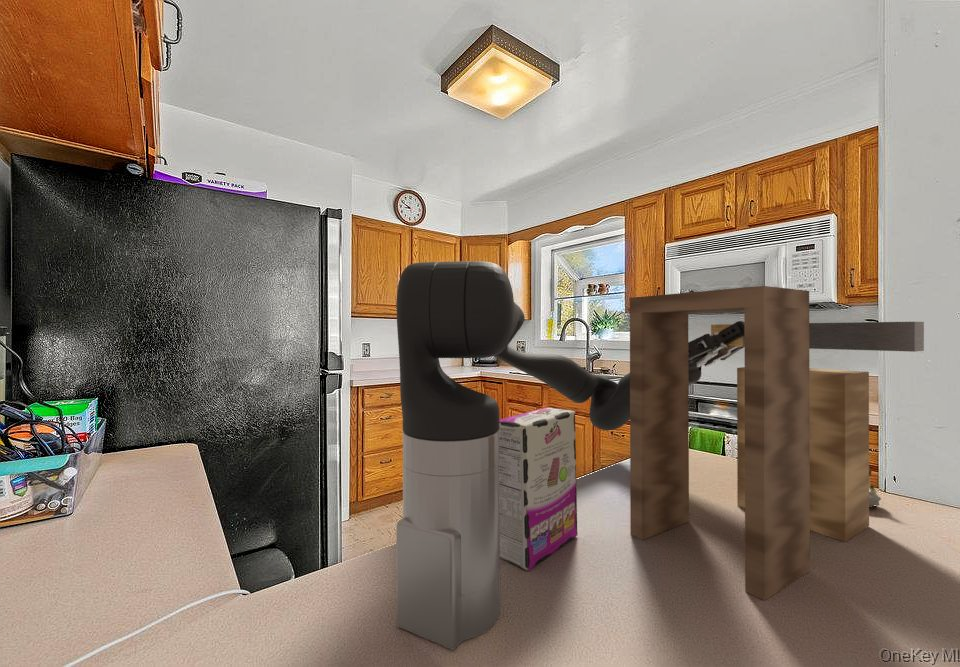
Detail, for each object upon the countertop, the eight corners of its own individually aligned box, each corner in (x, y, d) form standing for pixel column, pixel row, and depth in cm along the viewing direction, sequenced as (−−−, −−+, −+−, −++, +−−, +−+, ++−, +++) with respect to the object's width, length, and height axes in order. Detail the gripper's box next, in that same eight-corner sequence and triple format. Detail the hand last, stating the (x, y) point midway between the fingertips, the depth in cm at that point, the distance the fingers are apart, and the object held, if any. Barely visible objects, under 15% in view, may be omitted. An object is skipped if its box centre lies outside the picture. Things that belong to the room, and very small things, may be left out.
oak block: (869, 526, 57) (868, 371, 57) (845, 542, 53) (844, 375, 53) (763, 495, 68) (763, 365, 68) (737, 505, 64) (737, 367, 64)
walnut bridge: (764, 600, 41) (763, 285, 41) (630, 534, 55) (629, 297, 55) (809, 570, 47) (809, 290, 46) (677, 516, 60) (676, 300, 60)
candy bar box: (546, 525, 58) (545, 406, 58) (578, 536, 54) (578, 410, 54) (493, 557, 50) (492, 418, 50) (527, 573, 46) (526, 424, 46)
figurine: (859, 511, 61) (863, 470, 62) (830, 500, 66) (834, 462, 66) (890, 515, 62) (894, 474, 62) (860, 504, 66) (863, 466, 67)
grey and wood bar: (923, 350, 51) (923, 321, 51) (914, 351, 49) (914, 321, 49) (722, 345, 71) (722, 324, 71) (710, 345, 69) (711, 324, 69)
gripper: (633, 356, 76) (715, 304, 64) (680, 354, 84) (762, 307, 71) (650, 394, 73) (741, 348, 60) (698, 388, 81) (787, 346, 68)
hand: (751, 326), depth 66 cm, fingers closed on grey and wood bar, 3 cm apart
